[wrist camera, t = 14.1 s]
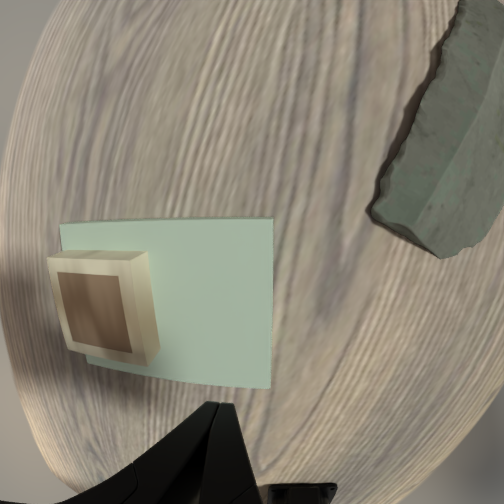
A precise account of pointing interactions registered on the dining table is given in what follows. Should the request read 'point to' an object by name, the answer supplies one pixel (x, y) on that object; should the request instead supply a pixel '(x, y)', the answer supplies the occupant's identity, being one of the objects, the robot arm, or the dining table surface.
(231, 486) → the robot arm
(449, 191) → the stone slab
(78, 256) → the beige flat box
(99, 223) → the mat
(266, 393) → the dining table surface
